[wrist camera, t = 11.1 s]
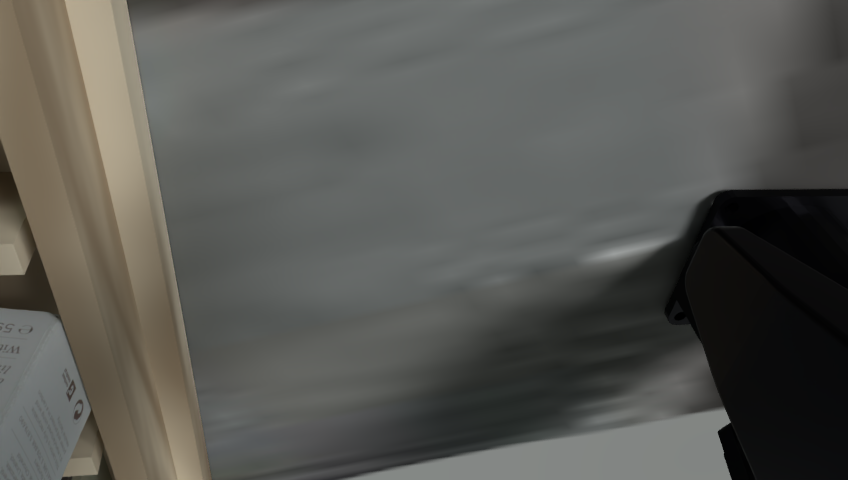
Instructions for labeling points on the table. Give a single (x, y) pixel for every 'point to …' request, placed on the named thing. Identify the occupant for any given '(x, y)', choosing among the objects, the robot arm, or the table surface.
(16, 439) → the skincare box
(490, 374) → the table surface
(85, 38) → the rail
